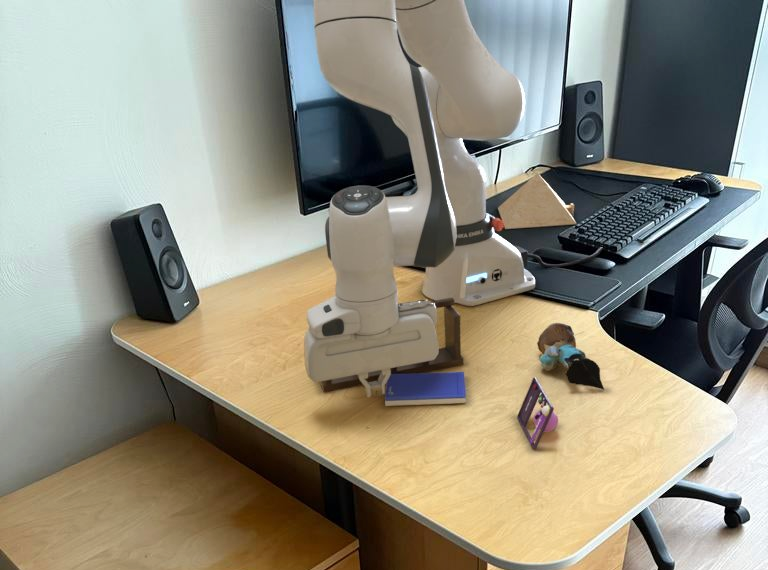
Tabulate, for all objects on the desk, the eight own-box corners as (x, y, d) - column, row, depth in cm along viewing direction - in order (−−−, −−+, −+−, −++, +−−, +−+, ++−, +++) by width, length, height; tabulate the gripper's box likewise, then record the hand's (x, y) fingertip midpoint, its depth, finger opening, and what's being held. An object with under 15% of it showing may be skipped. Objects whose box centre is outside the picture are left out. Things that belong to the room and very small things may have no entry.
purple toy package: (529, 376, 109) (546, 407, 102) (561, 382, 110) (581, 413, 103) (512, 416, 113) (528, 448, 106) (544, 422, 114) (562, 455, 107)
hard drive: (384, 398, 118) (465, 395, 117) (387, 373, 124) (464, 370, 123) (385, 407, 119) (465, 404, 118) (388, 381, 125) (464, 378, 124)
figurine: (569, 348, 130) (572, 314, 126) (606, 391, 117) (610, 355, 114) (527, 354, 129) (528, 320, 125) (558, 398, 117) (561, 362, 113)
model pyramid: (579, 224, 179) (583, 179, 173) (505, 229, 180) (506, 184, 174) (567, 203, 192) (570, 160, 186) (497, 208, 193) (498, 166, 187)
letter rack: (453, 351, 132) (452, 297, 126) (463, 364, 128) (463, 308, 122) (317, 378, 128) (309, 323, 122) (323, 392, 124) (316, 336, 118)
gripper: (429, 289, 114) (433, 373, 123) (295, 313, 111) (308, 397, 120) (443, 305, 109) (445, 390, 118) (303, 330, 106) (315, 416, 115)
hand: (375, 394), depth 119 cm, fingers closed
